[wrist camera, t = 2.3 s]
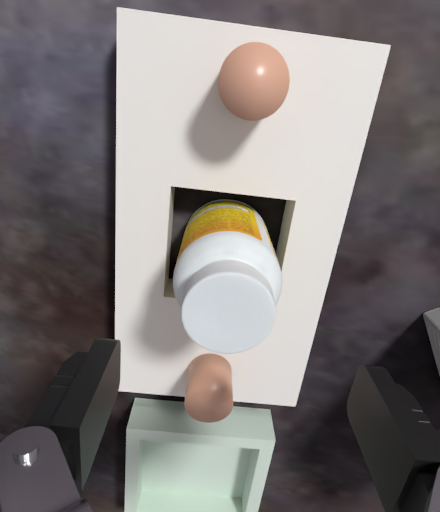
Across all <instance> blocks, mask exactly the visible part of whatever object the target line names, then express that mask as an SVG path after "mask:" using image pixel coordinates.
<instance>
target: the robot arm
mask: <svg viewBox="0 0 440 512" xmlns="http://www.w3.org/2000/svg"><path fill="white" fill-rule="evenodd" d="M120 364H121V342H120V340H116V339H106V338H96V339H95V341H94V343H93V345H92V346H91V348H90V350H89V352H88V353H85V352H76V353H75V354H74V355H73V356H71V357H70V358H69V359H67V360H66V361H65V362H64V363H63V365H62V366H61V368H60V370H59V371H58V373H57V376H55V378H54V380H53V381H52V383H51V386H50V387H49V388H48V389H47V391H46V393H45V394H44V396H43V398H42V399H41V401H40V403H39V404H38V406H37V408H36V409H35V411H34V412H33V414H32V416H31V417H30V419H29V421H28V422H27V424H26V426H25V427H24V428H23V429H20V430H17V431H15V432H13V433H12V434H10V435H9V436H7V437H6V438H5V439H4V440H3V441H1V443H0V512H93V511H92V509H91V507H90V505H89V503H88V501H87V500H83V501H82V499H81V497H80V495H79V493H78V492H83V489H84V486H85V484H86V481H87V478H88V475H89V472H90V470H91V467H92V464H93V461H94V458H95V456H96V453H97V450H98V447H99V445H100V442H101V439H102V436H103V433H104V431H105V428H106V425H107V422H108V419H109V417H110V414H111V411H112V408H113V406H114V403H115V400H116V397H117V394H118V390H119V384H120ZM347 415H348V419H349V422H350V424H351V427H352V429H353V432H354V434H355V437H356V439H357V442H358V444H359V447H360V449H361V452H362V454H363V457H364V459H365V462H366V464H367V467H368V469H369V472H370V474H371V477H372V479H373V482H374V485H375V487H376V490H377V492H378V495H379V497H380V500H381V502H382V505H383V507H384V510H385V512H440V435H439V434H438V432H437V431H436V429H435V428H434V426H433V425H432V424H430V420H429V418H428V417H427V415H426V414H425V413H424V412H423V409H422V408H421V406H420V405H419V403H418V402H417V400H416V398H415V397H414V396H413V395H412V394H411V393H410V392H409V391H408V390H406V389H405V388H404V387H403V386H402V385H401V384H395V382H394V380H393V379H392V377H391V375H390V374H389V372H388V371H387V369H386V368H385V367H379V366H369V365H360V366H359V367H358V369H357V372H356V375H355V378H354V381H353V384H352V388H351V391H350V394H349V397H348V400H347Z"/></svg>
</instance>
